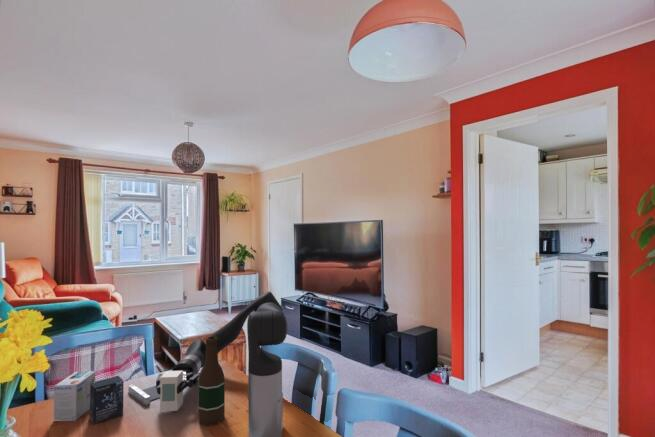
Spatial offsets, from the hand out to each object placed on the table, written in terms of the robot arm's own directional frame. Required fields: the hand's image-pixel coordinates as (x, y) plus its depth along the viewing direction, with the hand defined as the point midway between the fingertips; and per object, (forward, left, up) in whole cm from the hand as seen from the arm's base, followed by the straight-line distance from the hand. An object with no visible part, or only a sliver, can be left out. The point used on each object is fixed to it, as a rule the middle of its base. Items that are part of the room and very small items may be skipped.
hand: (168, 390), depth 111 cm
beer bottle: (-13, +2, -8) cm, 16 cm away
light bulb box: (+30, -5, -8) cm, 32 cm away
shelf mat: (+10, -18, -8) cm, 22 cm away
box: (+19, -2, -8) cm, 21 cm away
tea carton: (0, -3, -6) cm, 7 cm away
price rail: (+14, -13, -8) cm, 21 cm away
